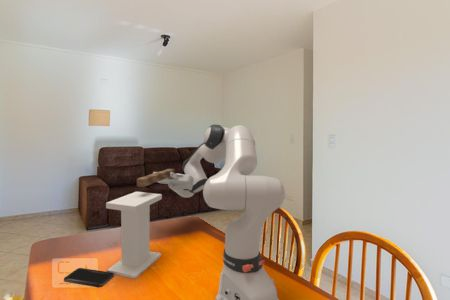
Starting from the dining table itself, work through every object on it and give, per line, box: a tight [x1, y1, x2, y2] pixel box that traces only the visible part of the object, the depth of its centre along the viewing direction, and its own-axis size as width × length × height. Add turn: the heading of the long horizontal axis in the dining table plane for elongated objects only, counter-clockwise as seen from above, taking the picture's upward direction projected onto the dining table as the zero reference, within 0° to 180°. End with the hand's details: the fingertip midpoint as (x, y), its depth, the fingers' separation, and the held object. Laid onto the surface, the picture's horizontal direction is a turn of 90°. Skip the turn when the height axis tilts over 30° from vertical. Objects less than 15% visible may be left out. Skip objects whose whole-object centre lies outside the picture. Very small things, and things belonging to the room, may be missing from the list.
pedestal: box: [105, 191, 163, 280], centre depth 104 cm, size 18×12×26 cm, turn 163°
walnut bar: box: [136, 168, 176, 188], centre depth 117 cm, size 26×3×3 cm, turn 163°
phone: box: [63, 267, 115, 288], centre depth 95 cm, size 8×1×15 cm
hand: (165, 173), depth 124 cm, fingers closed on walnut bar, 3 cm apart
